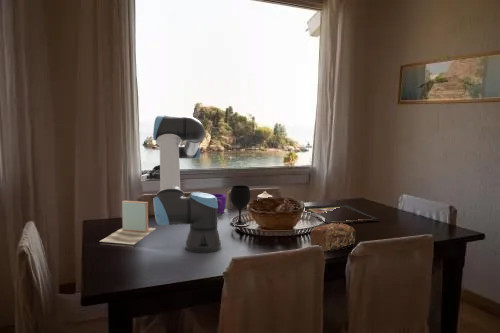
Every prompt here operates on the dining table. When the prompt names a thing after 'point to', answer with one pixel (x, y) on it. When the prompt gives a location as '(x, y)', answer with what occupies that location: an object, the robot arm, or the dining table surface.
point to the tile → (135, 216)
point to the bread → (332, 236)
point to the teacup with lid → (264, 195)
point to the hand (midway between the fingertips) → (142, 178)
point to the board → (126, 237)
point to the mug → (220, 202)
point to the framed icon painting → (330, 208)
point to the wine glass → (240, 199)
